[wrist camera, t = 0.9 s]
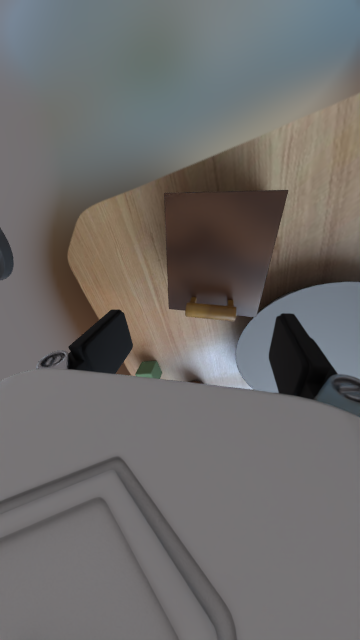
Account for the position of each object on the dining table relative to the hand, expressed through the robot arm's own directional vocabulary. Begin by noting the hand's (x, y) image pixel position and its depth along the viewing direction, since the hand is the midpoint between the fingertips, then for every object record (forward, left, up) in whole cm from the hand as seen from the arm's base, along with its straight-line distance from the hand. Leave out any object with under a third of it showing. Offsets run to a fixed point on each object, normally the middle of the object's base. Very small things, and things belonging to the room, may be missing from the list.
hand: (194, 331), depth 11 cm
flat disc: (+25, +3, -24) cm, 35 cm away
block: (+11, -31, -24) cm, 41 cm away
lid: (0, +1, -15) cm, 15 cm away
